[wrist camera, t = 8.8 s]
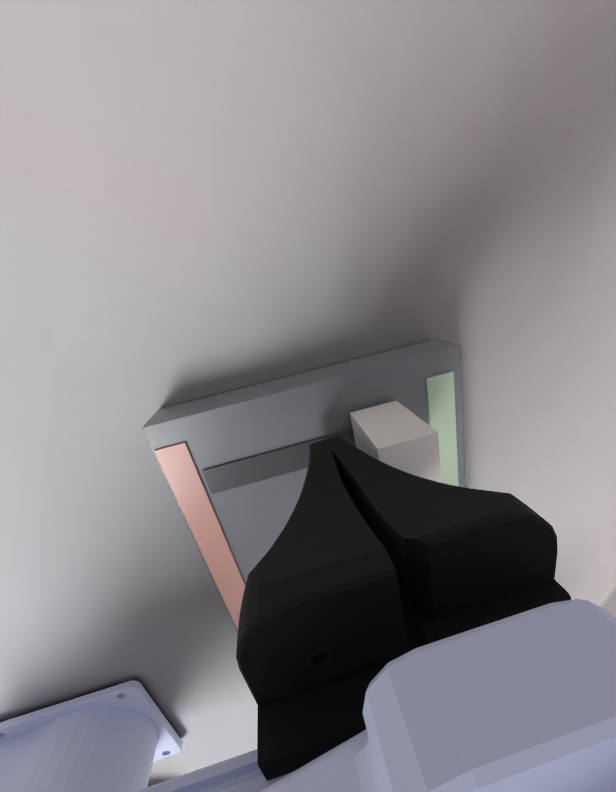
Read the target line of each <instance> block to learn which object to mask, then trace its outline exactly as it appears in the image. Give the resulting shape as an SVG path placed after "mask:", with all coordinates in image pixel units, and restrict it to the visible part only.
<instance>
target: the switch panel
mask: <svg viewBox="0 0 616 792" xmlns="http://www.w3.org/2000/svg"><path fill="white" fill-rule="evenodd" d="M392 401H398V402H399V403H400V404H402V405H403V406H404V407H406V408H407V409H408V410H410V411H411V412H412V413H414V414H415V415H416V416H418V417H419V418H420V419H421V420H423V421H424V422H425V423H427V424H428V425H429V426H431V427H432V428H433V429H435V430H436V431H437V432H438V440H439V454H440V469H441V483H445V484H449V485H454V486H459V487H464V488H465V471H464V441H463V412H462V382H461V352H460V345H456V344H451V343H447V342H443V341H439V340H435V339H432V340H428V341H424V342H420V343H416V344H412V345H408V346H404V347H400V348H396V349H392V350H389V351H385V352H381V353H377V354H373V355H369V356H365V357H361V358H357V359H353V360H349V361H345V362H342V363H338V364H334V365H330V366H326V367H322V368H318V369H314V370H310V371H306V372H302V373H298V374H295V375H291V376H287V377H283V378H279V379H275V380H271V381H267V382H263V383H259V384H255V385H252V386H248V387H244V388H240V389H236V390H232V391H228V392H224V393H220V394H216V395H212V396H208V397H205V398H201V399H197V400H193V401H189V402H185V403H181V404H177V405H173V406H169V407H165V408H161V409H159V410H158V411H157V412H156V413H155V414H154V415H153V416H152V418H151V419H150V420H149V421H148V422H147V423H146V424H145V425H144V426H143V427H142V429H143V432H144V434H145V436H146V438H147V440H148V442H149V444H150V447H151V449H152V451H153V453H154V455H155V457H156V459H157V461H158V464H159V466H160V468H161V470H162V472H163V474H164V476H165V478H166V481H167V483H168V485H169V487H170V489H171V491H172V493H173V495H174V498H175V500H176V502H177V504H178V506H179V508H180V510H181V512H182V515H183V517H184V519H185V521H186V523H187V525H188V527H189V529H190V532H191V534H192V536H193V538H194V540H195V542H196V544H197V547H198V549H199V551H200V553H201V555H202V557H203V559H204V561H205V564H206V566H207V568H208V570H209V572H210V574H211V576H212V578H213V581H214V583H215V585H216V587H217V589H218V591H219V593H220V595H221V598H222V600H223V602H224V604H225V606H226V608H227V610H228V612H229V615H230V617H231V619H232V621H233V623H234V625H235V627H236V630H237V632H238V623H239V615H240V609H241V604H242V599H243V594H244V589H245V585H246V581H247V578H248V574H249V573H250V572H251V571H252V570H253V569H254V567H255V566H256V565H257V564H258V563H259V561H260V560H261V559H262V558H263V557H264V556H265V554H266V553H267V552H268V551H269V549H270V548H271V547H272V545H273V544H274V542H275V541H276V539H277V538H278V536H279V535H280V533H281V532H282V530H283V529H284V527H285V525H286V524H287V522H288V520H289V518H290V516H291V514H292V512H293V510H294V508H295V506H296V504H297V501H298V499H299V497H300V494H301V491H302V488H303V485H304V481H305V478H306V474H307V470H308V464H309V457H310V449H309V446H310V445H311V444H312V443H315V442H319V441H322V440H326V439H330V438H333V437H337V436H340V437H342V438H343V439H345V440H346V441H348V442H349V443H351V444H352V445H354V446H355V447H356V444H355V438H354V433H353V427H352V422H351V416H350V413H351V412H355V411H359V410H362V409H366V408H370V407H374V406H377V405H381V404H385V403H388V402H392Z"/></svg>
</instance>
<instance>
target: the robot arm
mask: <svg viewBox="0 0 616 792" xmlns="http://www.w3.org/2000/svg"><path fill="white" fill-rule="evenodd" d="M309 449H310V457H309V464H308V470H307V474H306V478H305V481H304V485H303V488H302V491H301V494H300V497H299V499H298V501H297V504H296V506H295V508H294V510H293V512H292V514H291V516H290V518H289V520H288V522H287V524H286V525H285V527H284V529H283V530H282V532H281V533H280V535H279V536H278V538H277V539H276V541H275V542H274V544H273V545H272V547H271V548H270V549H269V551H268V552H267V553H266V554H265V556H264V557H263V558H262V559H261V560H260V561H259V563H258V564H257V565H256V566H255V567H254V569H253V570H252V571H251V572H250V573H249V574H248V578H247V581H246V585H245V589H244V594H243V599H242V604H241V609H240V615H239V623H238V638H237V654H236V658H237V662H238V665H239V669H240V671H241V673H242V675H243V677H244V679H245V681H246V683H247V685H248V687H249V689H250V691H251V693H252V695H253V697H254V699H255V701H256V703H257V705H258V749H257V750H254V751H251V752H248V753H245V754H243V755H240V756H237V757H234V758H231V759H228V760H225V761H222V762H219V763H217V764H214V765H211V766H208V767H205V768H202V769H199V770H196V771H193V772H191V773H188V774H185V775H182V776H179V777H176V778H173V779H170V780H168V781H165V782H162V783H159V784H156V785H153V786H150V787H147V785H148V781H149V777H150V772H151V768H152V764H153V762H154V761H157V760H160V759H163V758H166V757H169V756H172V755H175V754H177V753H179V752H180V751H181V748H182V743H183V742H182V740H181V739H180V737H179V736H178V735H177V733H176V732H175V730H174V729H173V728H172V726H171V725H170V724H169V722H168V721H167V719H166V718H165V717H164V715H163V714H162V712H161V711H160V710H159V708H158V707H157V706H156V704H155V703H154V701H153V700H152V699H151V697H150V696H149V694H148V693H147V692H146V690H145V689H144V688H143V686H142V685H141V683H140V682H139V681H136V680H132V681H128V682H125V683H122V684H118V685H115V686H112V687H109V688H106V689H103V690H100V691H96V692H93V693H90V694H87V695H84V696H81V697H78V698H75V699H71V700H68V701H65V702H62V703H59V704H56V705H53V706H50V707H46V708H43V709H40V710H37V711H34V712H31V713H28V714H24V715H21V716H18V717H15V718H12V719H9V720H6V721H3V722H0V792H616V618H615V617H614V616H613V615H612V614H610V613H609V612H608V611H607V610H606V609H604V608H602V607H600V606H598V605H596V604H594V603H591V602H589V601H586V600H580V599H575V600H571V597H570V595H569V593H568V592H567V591H566V590H565V589H564V588H563V587H562V586H561V585H560V584H559V583H557V582H556V581H555V580H554V577H555V568H556V559H557V536H556V534H555V531H554V529H553V527H552V526H551V525H550V524H549V523H548V522H547V521H545V520H544V519H543V518H542V517H541V516H539V515H538V514H537V513H536V512H534V511H533V510H532V509H531V508H529V507H528V506H527V505H526V504H524V503H523V502H521V501H520V500H519V499H517V498H516V497H514V496H513V495H511V494H509V493H501V492H493V491H485V490H476V489H470V488H464V487H459V486H454V485H449V484H445V483H440V482H436V481H433V480H429V479H425V478H422V477H419V476H416V475H412V474H410V473H407V472H404V471H402V470H399V469H397V468H394V467H392V466H389V465H387V464H385V463H383V462H381V461H379V460H377V459H375V458H373V457H371V456H370V455H368V454H366V453H365V452H363V451H361V450H360V449H358V448H357V447H355V446H354V445H352V444H351V443H349V442H348V441H346V440H345V439H343V438H342V437H340V436H337V437H333V438H330V439H326V440H322V441H319V442H315V443H312V444H311V445H310V446H309Z"/></svg>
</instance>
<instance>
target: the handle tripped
mask: <svg viewBox="0 0 616 792" xmlns="http://www.w3.org/2000/svg"><path fill="white" fill-rule="evenodd" d="M350 416H351V422H352V427H353V433H354V438H355V444H356V447H357V448H358V449H360V450H361V451H363V452H365V453H366V454H368V455H370V456H371V457H373V458H375V459H377V460H379V461H381V462H383V463H385V464H387V465H389V466H392V467H394V468H397V469H399V470H402V471H404V472H407V473H410V474H412V475H416V476H419V477H422V478H425V479H429V480H433V481H436V482H440V483H441V469H440V454H439V440H438V432H437V431H436V430H435V429H433V428H432V427H431V426H429V425H428V424H427V423H425V422H424V421H423V420H421V419H420V418H419V417H418V416H416V415H415V414H414V413H412V412H411V411H410V410H408V409H407V408H406V407H404V406H403V405H402V404H400V403H399V402H398V401H392V402H388V403H385V404H381V405H377V406H374V407H370V408H366V409H362V410H359V411H355V412H351V413H350Z"/></svg>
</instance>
